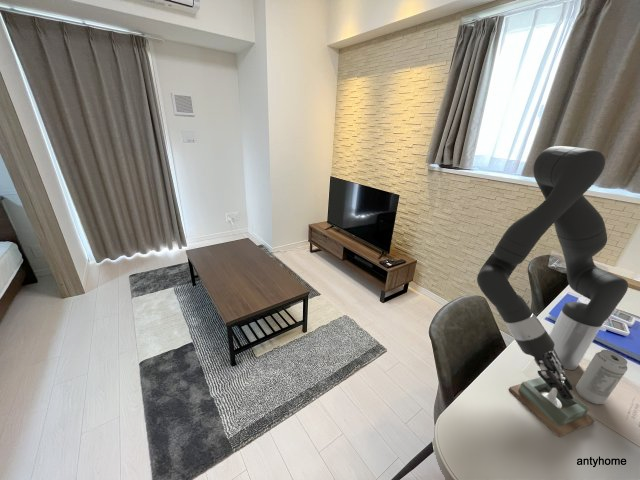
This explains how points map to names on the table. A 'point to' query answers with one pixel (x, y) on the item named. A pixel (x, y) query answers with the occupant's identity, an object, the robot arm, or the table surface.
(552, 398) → the chess piece
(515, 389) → the socket board
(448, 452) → the table surface
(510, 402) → the table surface
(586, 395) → the energy drink can
